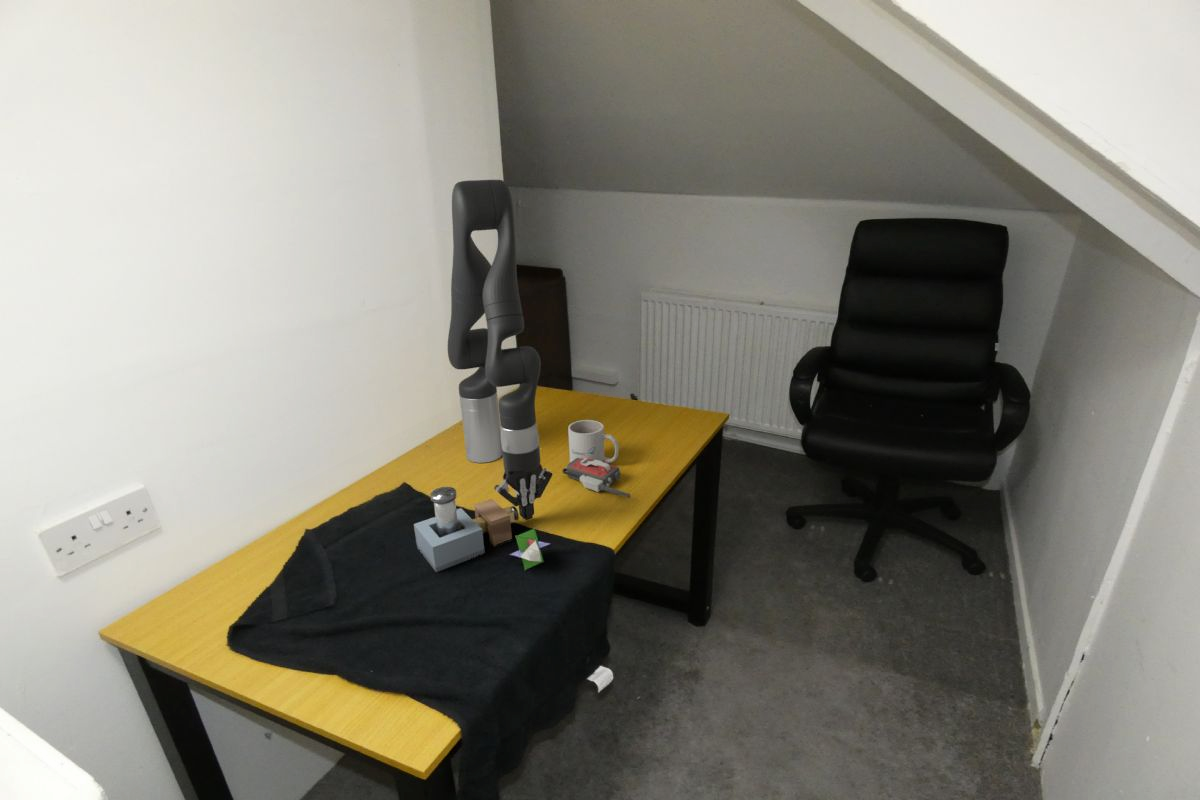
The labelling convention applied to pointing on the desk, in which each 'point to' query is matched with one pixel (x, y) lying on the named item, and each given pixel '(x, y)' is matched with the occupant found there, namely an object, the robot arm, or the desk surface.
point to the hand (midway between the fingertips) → (527, 517)
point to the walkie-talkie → (594, 474)
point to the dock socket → (449, 542)
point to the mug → (589, 441)
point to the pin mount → (495, 521)
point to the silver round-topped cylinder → (445, 510)
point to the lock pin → (484, 524)
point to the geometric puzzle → (529, 549)
